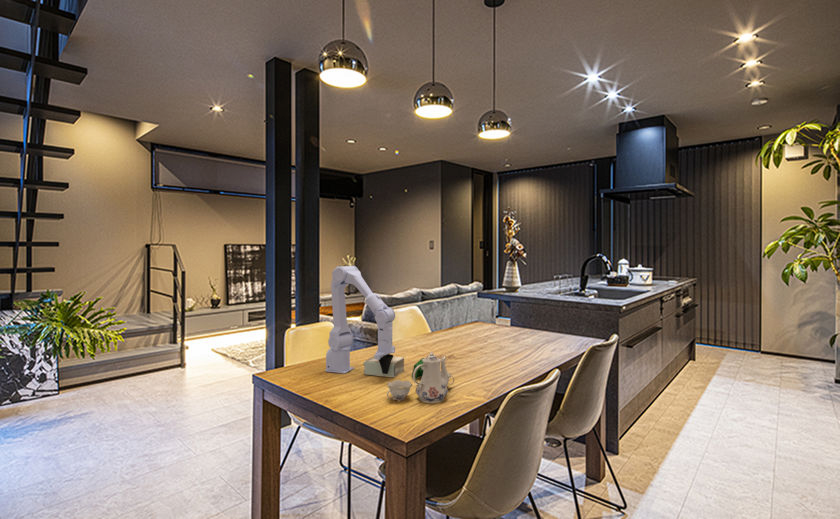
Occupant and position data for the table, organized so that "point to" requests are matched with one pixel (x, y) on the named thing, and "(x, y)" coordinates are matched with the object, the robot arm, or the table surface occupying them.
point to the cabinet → (395, 360)
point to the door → (378, 369)
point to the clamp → (419, 370)
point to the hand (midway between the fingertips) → (385, 373)
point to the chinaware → (425, 382)
